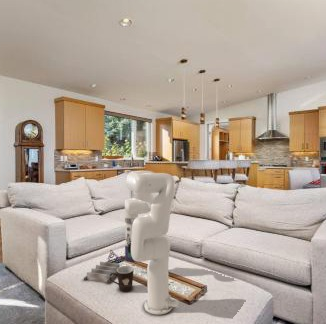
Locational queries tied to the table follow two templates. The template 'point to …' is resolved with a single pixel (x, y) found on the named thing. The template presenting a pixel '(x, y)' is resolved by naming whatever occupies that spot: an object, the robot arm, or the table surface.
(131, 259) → the flask
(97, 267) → the drying rack
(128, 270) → the coffee mug
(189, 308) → the table surface
